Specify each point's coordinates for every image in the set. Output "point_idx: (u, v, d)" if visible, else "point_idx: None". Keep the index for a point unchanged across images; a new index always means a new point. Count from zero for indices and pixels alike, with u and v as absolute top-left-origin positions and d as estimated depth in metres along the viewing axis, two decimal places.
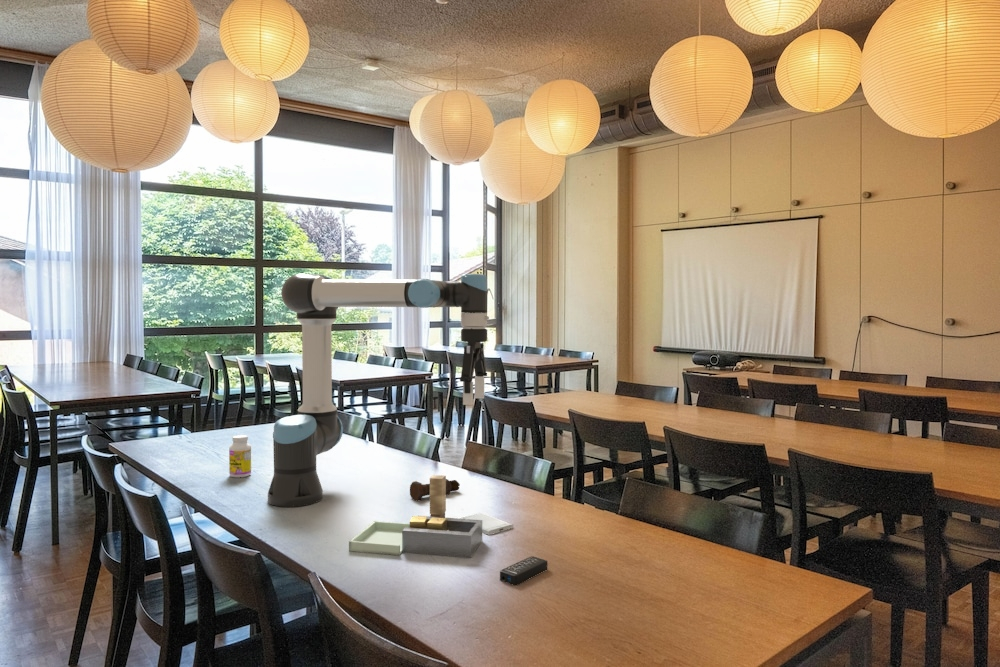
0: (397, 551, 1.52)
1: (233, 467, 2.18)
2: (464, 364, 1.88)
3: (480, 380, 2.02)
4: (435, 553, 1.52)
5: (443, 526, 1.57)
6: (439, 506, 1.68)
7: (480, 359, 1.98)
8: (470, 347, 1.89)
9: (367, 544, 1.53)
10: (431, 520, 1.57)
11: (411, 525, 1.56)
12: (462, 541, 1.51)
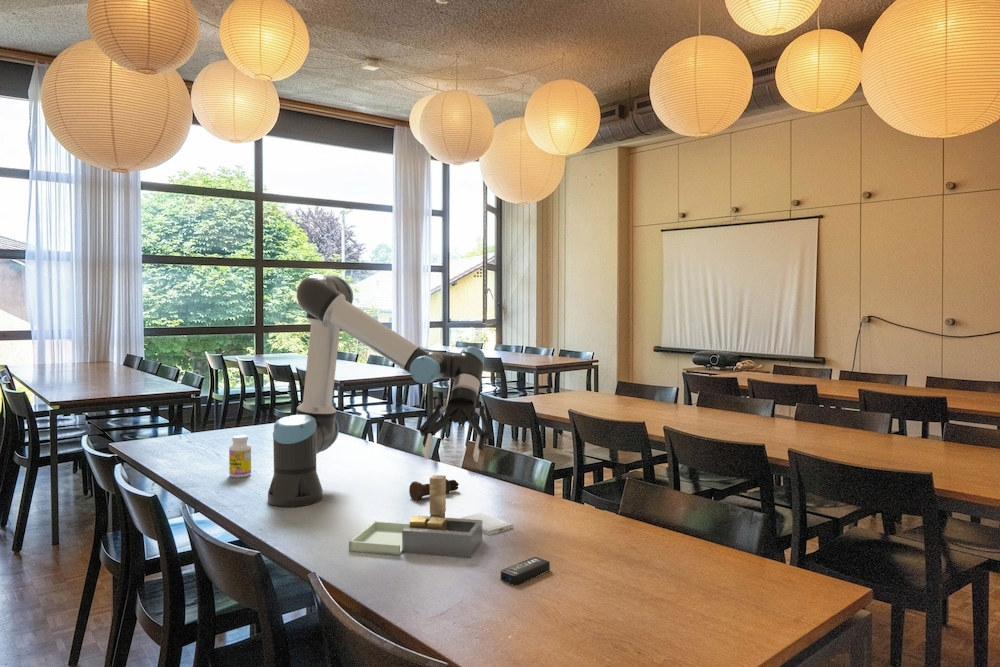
0: (397, 551, 1.52)
1: (233, 467, 2.18)
2: (487, 422, 1.85)
3: (431, 440, 1.85)
4: (435, 553, 1.52)
5: (443, 526, 1.57)
6: (439, 506, 1.68)
7: (449, 422, 1.89)
8: None
9: (367, 544, 1.53)
10: (431, 520, 1.57)
11: (411, 525, 1.56)
12: (462, 541, 1.51)
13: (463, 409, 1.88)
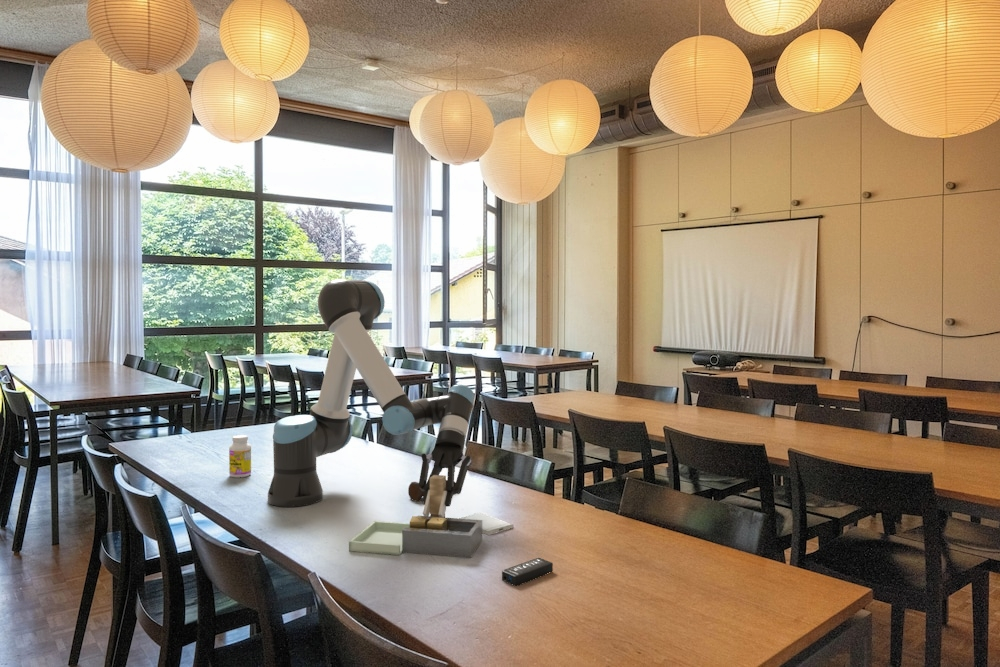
0: (397, 551, 1.52)
1: (233, 467, 2.18)
2: (463, 475, 1.72)
3: None
4: (435, 553, 1.52)
5: (443, 526, 1.57)
6: (439, 506, 1.68)
7: (440, 470, 1.76)
8: (471, 462, 1.76)
9: (367, 544, 1.53)
10: (431, 520, 1.57)
11: (411, 525, 1.56)
12: (462, 541, 1.51)
13: (449, 454, 1.76)
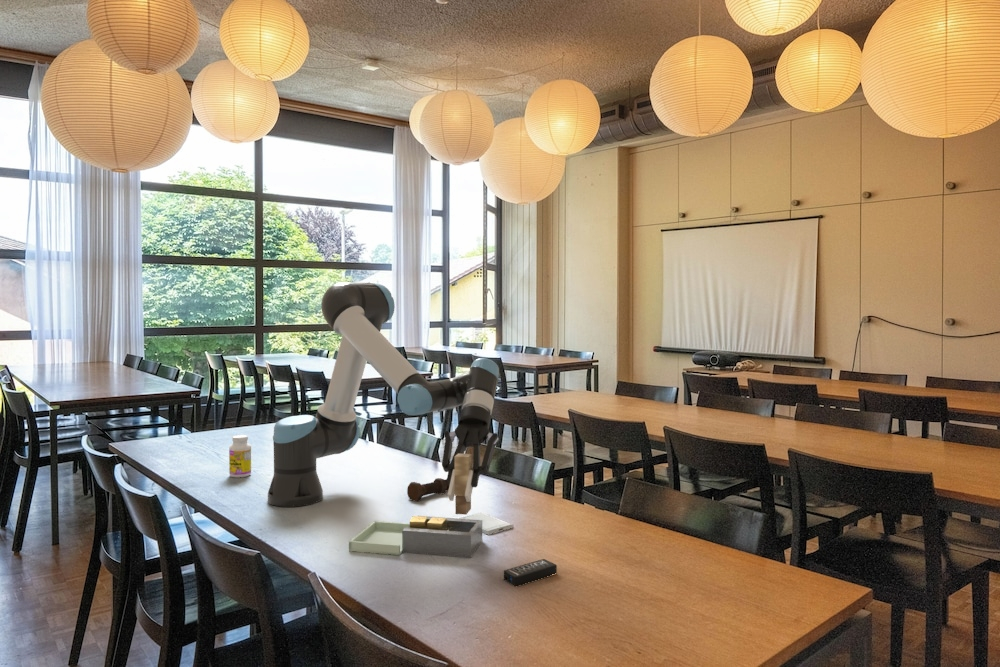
0: (397, 551, 1.52)
1: (233, 467, 2.18)
2: (490, 454, 1.58)
3: None
4: (435, 553, 1.52)
5: (443, 526, 1.57)
6: (465, 487, 1.54)
7: (465, 449, 1.62)
8: (498, 439, 1.62)
9: (367, 544, 1.53)
10: (431, 520, 1.57)
11: (411, 525, 1.56)
12: (462, 541, 1.51)
13: (474, 431, 1.61)
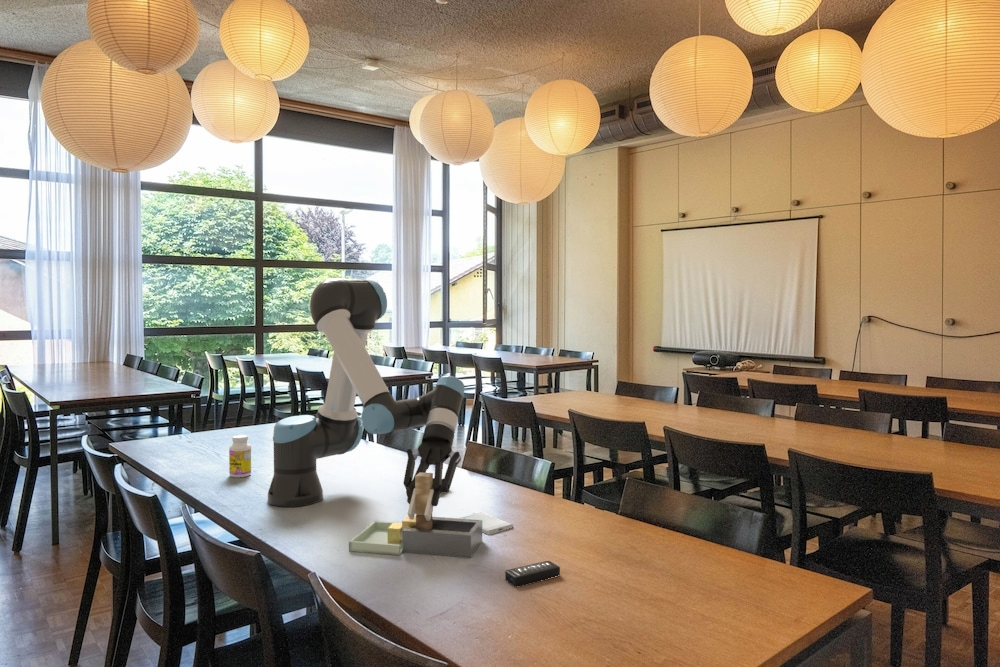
0: (397, 551, 1.52)
1: (233, 467, 2.18)
2: (451, 472, 1.60)
3: None
4: (435, 553, 1.52)
5: None
6: (425, 506, 1.56)
7: (427, 467, 1.64)
8: (460, 458, 1.64)
9: (367, 544, 1.53)
10: (406, 518, 1.59)
11: (391, 541, 1.58)
12: (462, 541, 1.51)
13: (437, 450, 1.63)
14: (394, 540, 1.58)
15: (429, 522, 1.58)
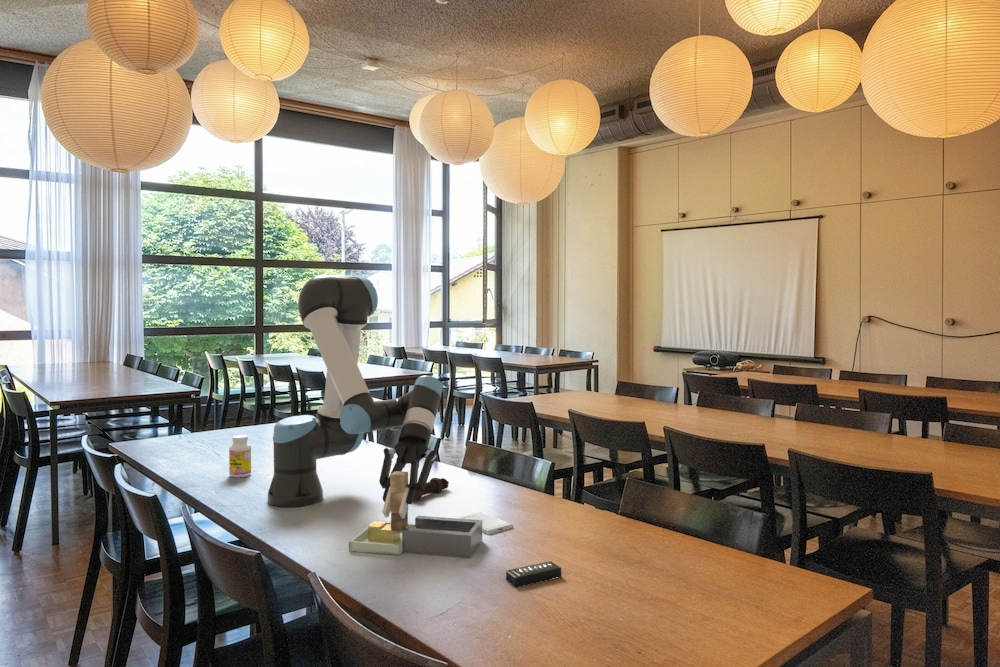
0: (397, 551, 1.52)
1: (233, 467, 2.18)
2: (427, 471, 1.62)
3: None
4: (435, 553, 1.52)
5: (396, 532, 1.59)
6: (400, 505, 1.58)
7: (404, 465, 1.66)
8: (436, 457, 1.65)
9: (367, 544, 1.53)
10: (384, 527, 1.60)
11: (371, 539, 1.59)
12: (462, 541, 1.51)
13: (413, 448, 1.65)
14: (374, 538, 1.59)
15: (404, 520, 1.59)
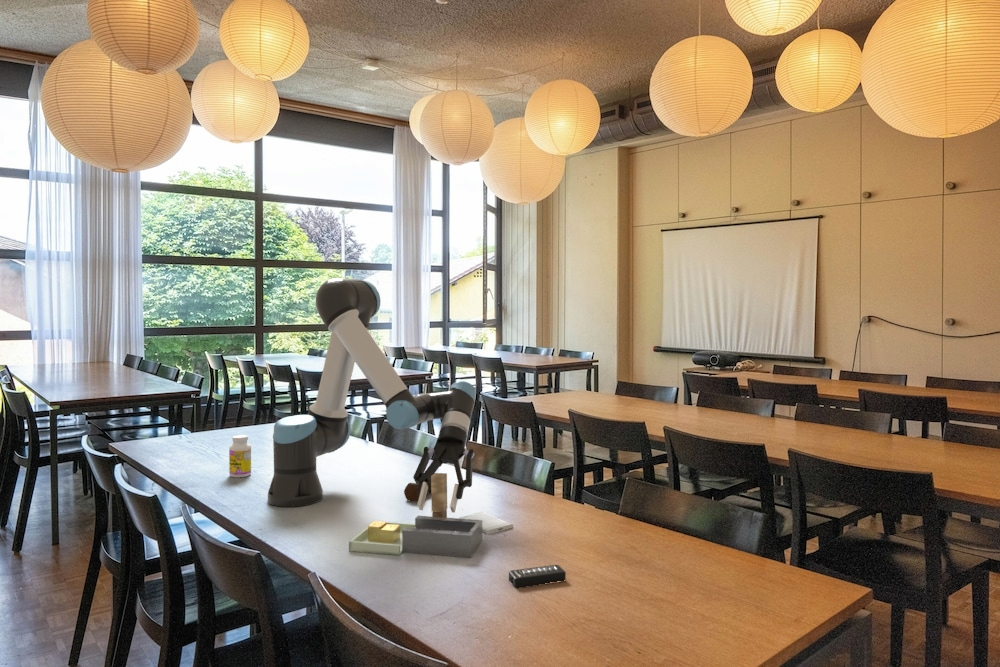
0: (397, 551, 1.52)
1: (233, 467, 2.18)
2: (470, 468, 1.74)
3: (426, 489, 1.73)
4: (435, 553, 1.52)
5: (396, 532, 1.59)
6: (441, 504, 1.70)
7: (440, 465, 1.79)
8: (474, 454, 1.79)
9: (367, 544, 1.53)
10: (384, 527, 1.60)
11: (371, 539, 1.59)
12: (462, 541, 1.51)
13: (451, 449, 1.78)
14: (374, 538, 1.59)
15: None
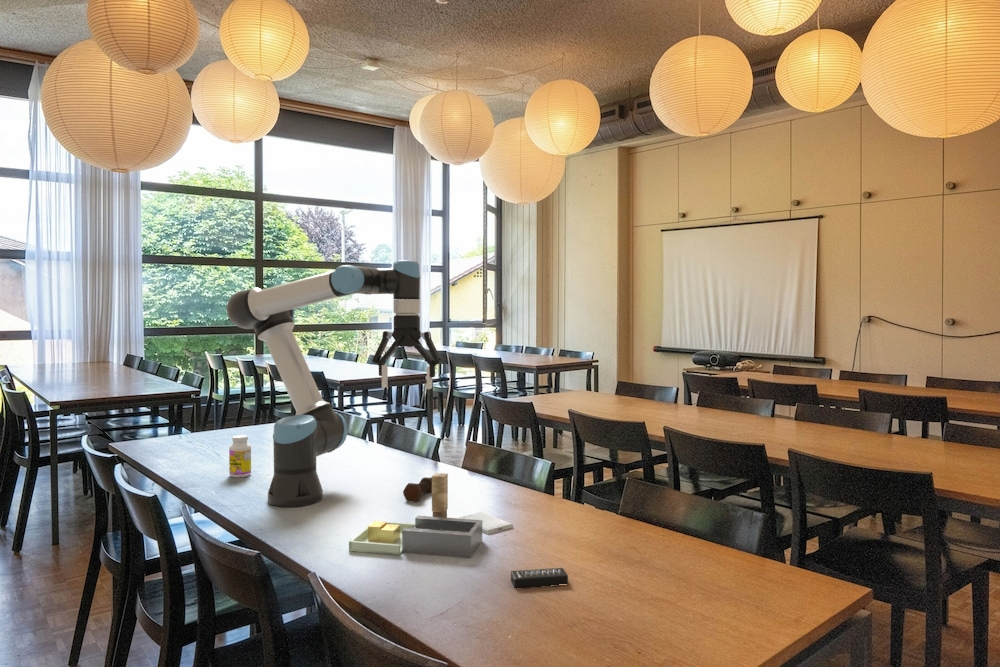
0: (397, 551, 1.52)
1: (233, 467, 2.18)
2: (434, 349, 1.94)
3: (386, 368, 1.98)
4: (435, 553, 1.52)
5: (396, 532, 1.59)
6: (441, 504, 1.70)
7: (398, 346, 1.98)
8: (429, 332, 1.95)
9: (367, 544, 1.53)
10: (384, 527, 1.60)
11: (371, 539, 1.59)
12: (462, 541, 1.51)
13: (408, 338, 1.94)
14: (374, 538, 1.59)
15: None
